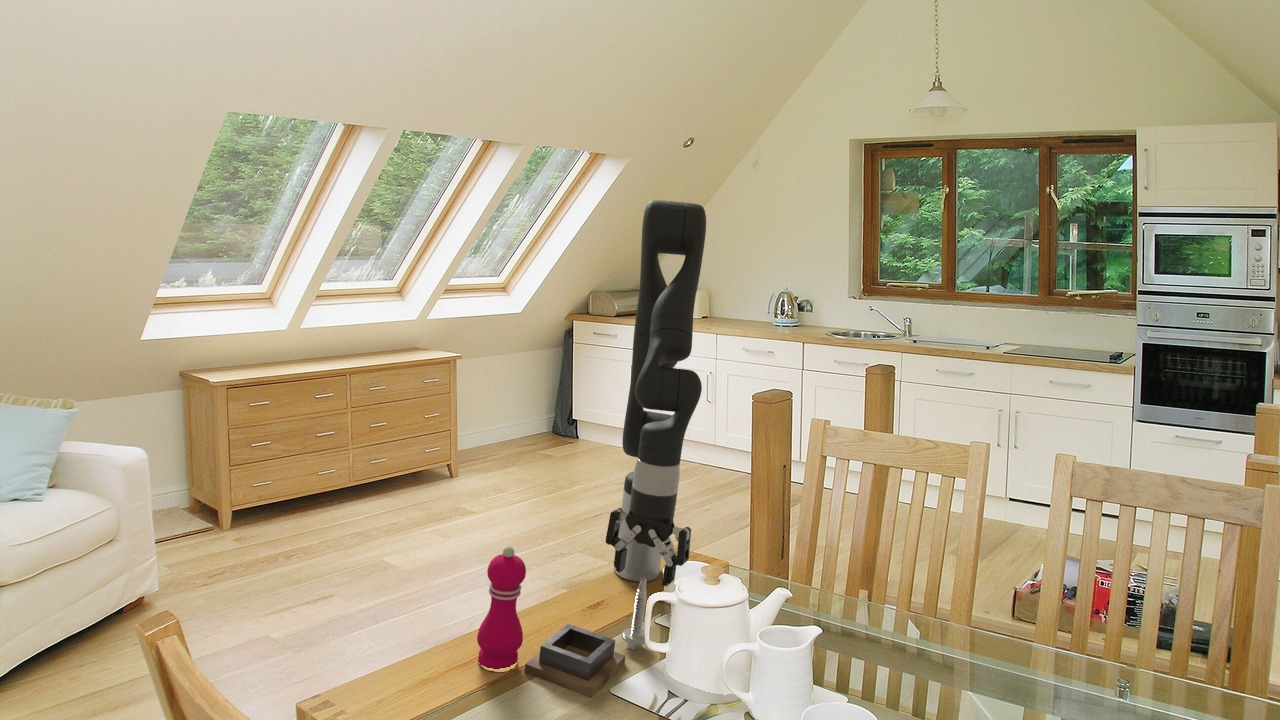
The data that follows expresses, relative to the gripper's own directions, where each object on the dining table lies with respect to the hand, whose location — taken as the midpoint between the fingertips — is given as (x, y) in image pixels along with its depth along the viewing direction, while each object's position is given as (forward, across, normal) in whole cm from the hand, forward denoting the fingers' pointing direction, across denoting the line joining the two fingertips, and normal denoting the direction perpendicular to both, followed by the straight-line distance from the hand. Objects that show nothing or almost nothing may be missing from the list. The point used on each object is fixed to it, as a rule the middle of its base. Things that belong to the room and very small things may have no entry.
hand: (642, 577), depth 161 cm
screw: (+13, 0, 0) cm, 13 cm away
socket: (+12, +5, +12) cm, 17 cm away
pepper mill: (+13, +16, +18) cm, 27 cm away
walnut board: (+13, +5, +12) cm, 18 cm away
